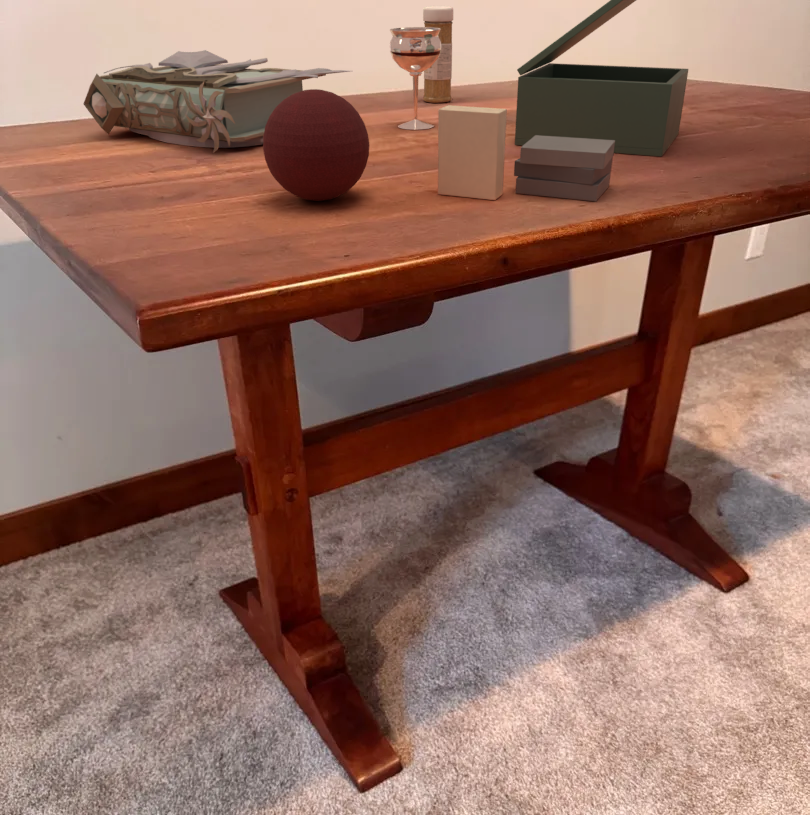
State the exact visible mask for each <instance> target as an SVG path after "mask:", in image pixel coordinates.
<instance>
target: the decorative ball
mask: <svg viewBox="0 0 810 815" xmlns="http://www.w3.org/2000/svg"><path fill="white" fill-rule="evenodd" d="M369 138H370V137H369V133H368V130H367V127H366V124H365V122H364V120H363V118H362V117H361V114H360V113H359V112H358V110H356V108H355V107H354V106H353V104H352V103H350V102H349V100H346V99H345V97H342V96H340V95H338V94H336V93H334V92H333V91H328V90H324V89H318V88H314V89H312V88H311V89H303V91H300V92H297V93H294V94H292V95H290V96H289V97H287V98H285V99H284V100H283V101H282V102H281V103H280V104H279V105H278V106H277V107H276V108H275V109H274V110H273V112H272V113H271V115H270V116H269V119H268V121H267V123H266V126H265V131H264V136H263V144H262V151H263V156H264V161H265V163H266V166H267V168H268V171H269V172H270V174H271V175H272V177H273V179H274V180H275V181H276V182H277V183H278V184H279V185H280V186H281V187H282V188H283V189H284V190H286V191H287V192H289V193H290V194H291V195H293V196H296V197H297V198H300V199H303V200H305V201H306V200H307V201H315V202H316V201H318V202H321V201H327V200H328V201H329V200H332V199H335V198H338V197H340V196H342V195H344V194H345V193H347V192H349V190H351V189H352V188H353V187H354V186H356V184H357V183H358V181H359V180H360V179H361V178H362V175H363V173H364V171H365V169H366V167H367V164H368V160H369V157H370V140H369Z"/></svg>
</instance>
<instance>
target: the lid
mask: <svg viewBox="0 0 810 815" xmlns="http://www.w3.org/2000/svg"><path fill="white" fill-rule="evenodd" d="M636 1H637V0H608V1H607V2H606V3H604V4H603V5H602V6H600V7H598V9H596V10H595V11H594V12H593V13H591V14H590V15H589V16H587V17H585V19H583V20H582V21H580V22H578V24H576V25H575V26H574V27H572V28H571V29H570V30H568V31H567V32H565V34H563V35H561V36H560V37H559V38H557V39H555V41H553V42H552V43H550V44H549V45H548V46H547V47H545V48H544V49H543V50H541V51H540V52H539V53H537V54H536V55H534V56H533V57H532V58H530V59H529V60H528V61H526V62H525V63H524V64H523V65H521V66H519V67H518V68H517V69H516V71H517V73H518V75H519V76H522V75H524V74H527V73H529V72H531V71H533V70H536V69H538V68H540V67H543V66H545V65H547V64H549V63H552V62H553V61H555V60H556V59H558V58H559V57H560V56H562V55H564V54H565V53H566V52H568V51H569V50H571V49H572V48H573V47H574V46H576V45H577V44H578V43H580V42H581V41H582V40H584V39H586V38H587V37H588V36H589V35H590V34H592V33H593V32H595V31H596V30H598V29H599V28H600V27H602V26H604V24H606V23H607V22H609V21H610V20H612V19H613V18H614V17H615V16H617V15H618V14H619V13H621V12H622V11H624V10H625V9H627V8H628V7H629V6H630V5H632V4H634V2H636Z"/></svg>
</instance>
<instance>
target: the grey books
mask: <svg viewBox="0 0 810 815" xmlns="http://www.w3.org/2000/svg"><path fill="white" fill-rule="evenodd" d="M614 146H615V140H603V139H587V138H571V137H555V136H539V135H535V136H534V137H533V138H532V139H530V140H529V141H528V142H527V143H526V144H524V145H523V146H520V154H519V158H517V159H516V160H514V167H513V176H514V177H515V194H519V195H528V196H529V195H530V196H538V197H549V198H559V199H566V200H567V199H569V200H578V201H589V202H598V200H599V198H601V197H602V195H603V194H604V193H605V192H606V191H607V190H608V188H609V187H610V182H611V174H612V167H613V166H612V165H613V158H614V154H615V153H614Z"/></svg>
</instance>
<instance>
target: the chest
mask: <svg viewBox="0 0 810 815" xmlns="http://www.w3.org/2000/svg"><path fill="white" fill-rule="evenodd" d="M688 76H689V68H678V67H677V68H676V67H652V66H651V67H650V66H629V65H628V66H626V65H603V64H602V65H600V64H578V63H577V64H575V63H552V62H550V63H548V64H546V65H543V66H541V67H539V68H537V69H534V70H532V71H530V72H527V73H525V74H523V75H519V76H518V77H517V94H516V111H515V130H514V146H520V147H522V146H523V145H524V144H526V143H527V142H528V141H529V140H530V139H532V138H533V137H534V136H535V135H539V136H555V137H571V138H587V139H603V140H615V146H614V154H620V155H621V154H623V155H633V156H636V155H637V156H647V157H648V156H649V157H663V155H664V154H665V153H666V152H667V150H668V149H669V148H670V146H671V145H672V144H673V142H674V141H675V140H676V139H677V138H678V135H679V134H680V127H681V122H682V116H683V114H682V113H683V110H684V109H683V107H684V100H685V94H686V88H687V83H688Z"/></svg>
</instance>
